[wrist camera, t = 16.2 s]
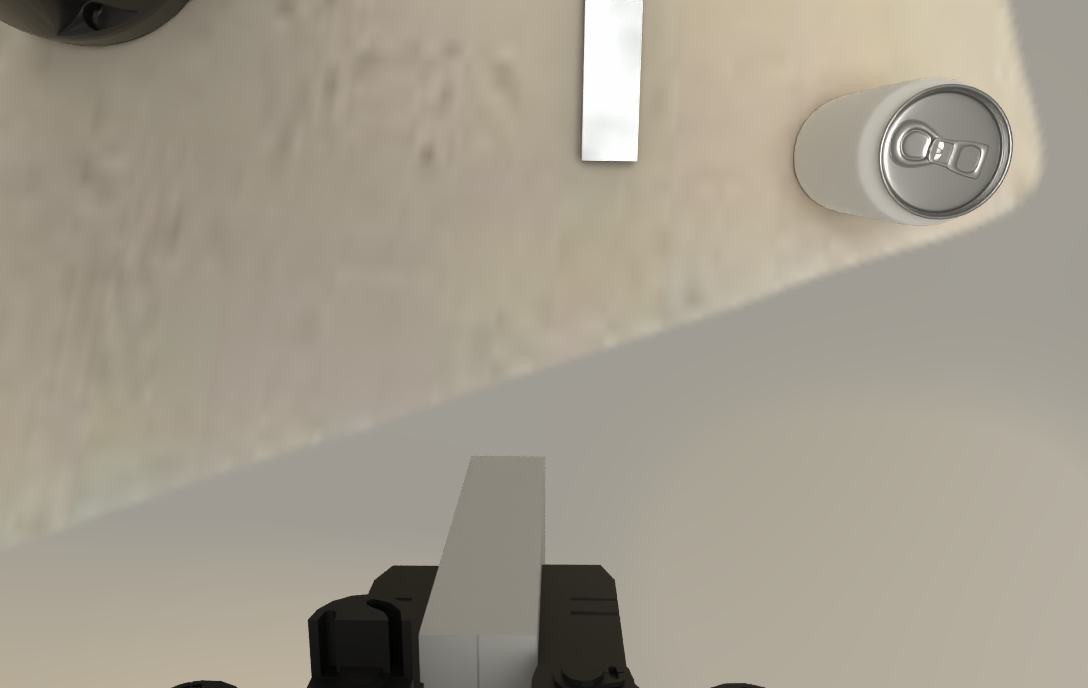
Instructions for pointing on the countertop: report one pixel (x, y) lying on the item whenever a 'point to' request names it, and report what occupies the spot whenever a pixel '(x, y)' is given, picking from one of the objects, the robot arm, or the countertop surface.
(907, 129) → the can
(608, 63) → the rail
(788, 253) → the countertop surface
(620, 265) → the countertop surface
